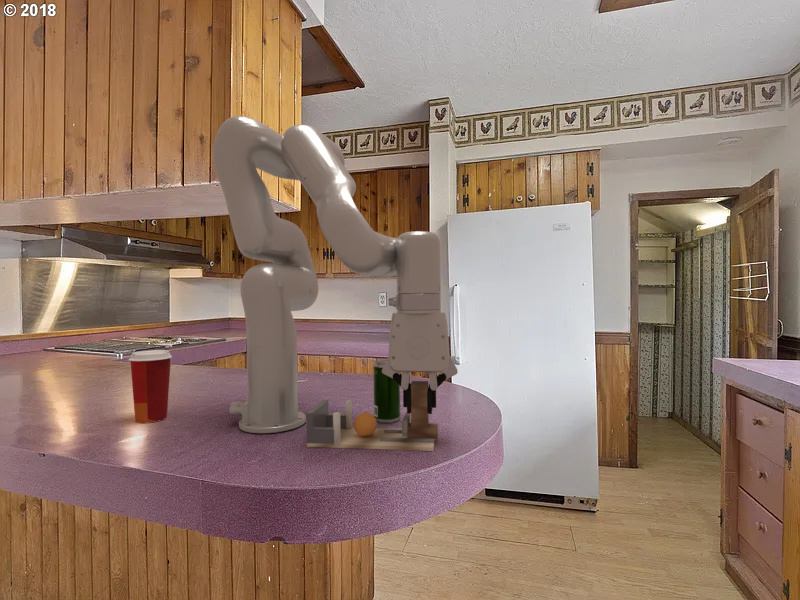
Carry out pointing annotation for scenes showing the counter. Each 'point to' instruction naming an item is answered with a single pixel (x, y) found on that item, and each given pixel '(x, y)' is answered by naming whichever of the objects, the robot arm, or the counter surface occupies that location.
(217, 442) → the counter surface
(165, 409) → the paper cup
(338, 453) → the counter surface
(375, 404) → the beer can
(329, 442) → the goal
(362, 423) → the ball
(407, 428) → the kicker
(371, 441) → the board
